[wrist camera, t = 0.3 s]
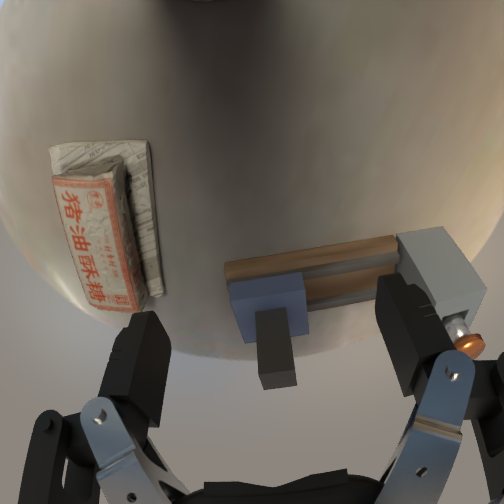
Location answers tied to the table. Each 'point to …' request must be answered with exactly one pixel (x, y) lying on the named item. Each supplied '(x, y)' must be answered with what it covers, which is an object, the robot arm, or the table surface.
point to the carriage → (272, 323)
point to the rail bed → (327, 270)
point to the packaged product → (109, 220)
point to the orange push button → (463, 336)
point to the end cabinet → (440, 272)
